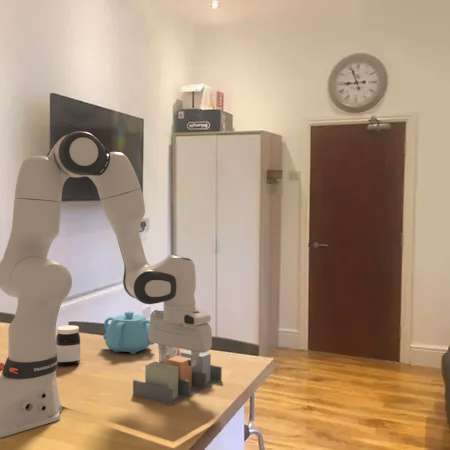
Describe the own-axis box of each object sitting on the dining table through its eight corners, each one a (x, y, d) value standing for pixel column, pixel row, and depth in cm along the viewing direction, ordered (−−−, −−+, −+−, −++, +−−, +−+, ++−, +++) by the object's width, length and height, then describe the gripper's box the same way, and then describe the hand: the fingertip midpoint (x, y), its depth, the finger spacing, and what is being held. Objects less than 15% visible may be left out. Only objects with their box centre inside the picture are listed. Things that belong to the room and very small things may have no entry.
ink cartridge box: (166, 356, 185) (166, 313, 184) (180, 357, 184) (180, 314, 183) (157, 363, 176) (158, 319, 176) (172, 365, 175) (172, 320, 175)
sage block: (168, 400, 141) (168, 370, 141) (145, 394, 145) (145, 365, 145) (178, 396, 144) (178, 366, 144) (155, 390, 149) (155, 361, 148)
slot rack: (170, 409, 138) (171, 389, 138) (133, 398, 145) (133, 380, 145) (221, 383, 158) (221, 367, 157) (185, 375, 165) (186, 359, 164)
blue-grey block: (202, 384, 154) (202, 356, 153) (180, 379, 158) (180, 352, 158) (210, 380, 157) (210, 353, 157) (188, 375, 161) (188, 349, 161)
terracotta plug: (180, 391, 148) (180, 362, 148) (166, 388, 151) (166, 359, 150) (191, 386, 152) (191, 358, 152) (177, 383, 155) (177, 355, 154)
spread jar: (82, 366, 173) (82, 330, 172) (44, 369, 169) (44, 333, 168) (77, 356, 184) (77, 322, 184) (42, 359, 180) (42, 324, 179)
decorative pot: (146, 342, 203) (146, 306, 203) (157, 353, 188) (157, 314, 188) (102, 346, 197) (102, 309, 197) (110, 358, 182) (110, 318, 182)
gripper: (143, 310, 153) (142, 358, 154) (202, 320, 142) (200, 372, 142) (158, 307, 159) (157, 354, 159) (215, 316, 147) (214, 366, 148)
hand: (178, 362), depth 151 cm, fingers open, 8 cm apart
